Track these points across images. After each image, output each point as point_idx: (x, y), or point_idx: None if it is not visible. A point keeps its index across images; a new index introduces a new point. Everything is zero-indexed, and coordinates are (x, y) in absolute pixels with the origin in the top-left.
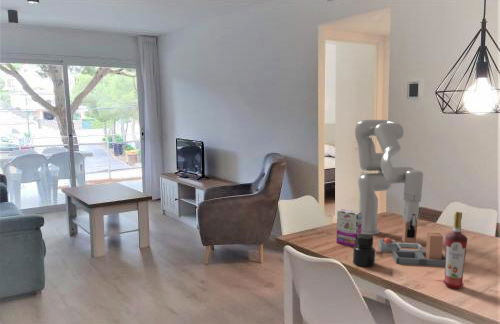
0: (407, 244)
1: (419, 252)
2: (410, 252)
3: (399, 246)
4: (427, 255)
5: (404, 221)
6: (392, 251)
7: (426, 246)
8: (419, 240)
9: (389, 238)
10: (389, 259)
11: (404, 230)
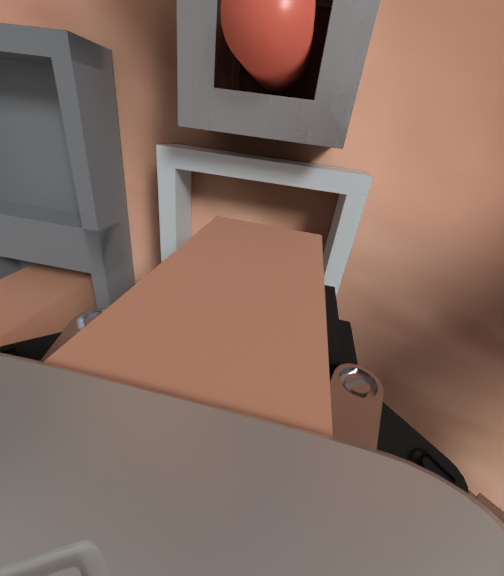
0: (324, 269)
1: (90, 263)
2: (79, 200)
3: (251, 174)
4: (37, 283)
5: (214, 374)
6: (72, 33)
7: (28, 317)
8: (487, 398)
9: (277, 44)
10: (56, 3)
11: (212, 270)
